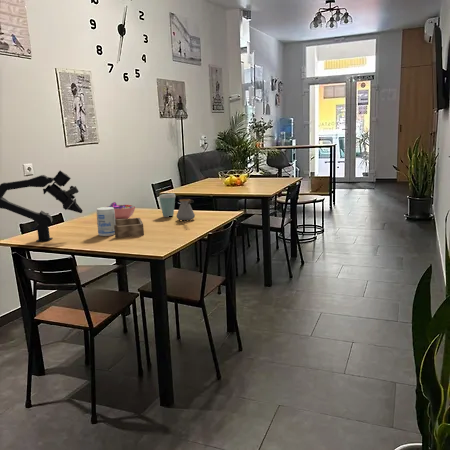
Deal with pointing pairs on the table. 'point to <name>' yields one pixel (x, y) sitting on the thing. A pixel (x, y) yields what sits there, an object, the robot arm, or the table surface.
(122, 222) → the walnut crate
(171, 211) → the disposable coffee cup
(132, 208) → the cell model
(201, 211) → the table surface
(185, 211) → the coffee pot
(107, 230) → the supplement tub
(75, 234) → the table surface
